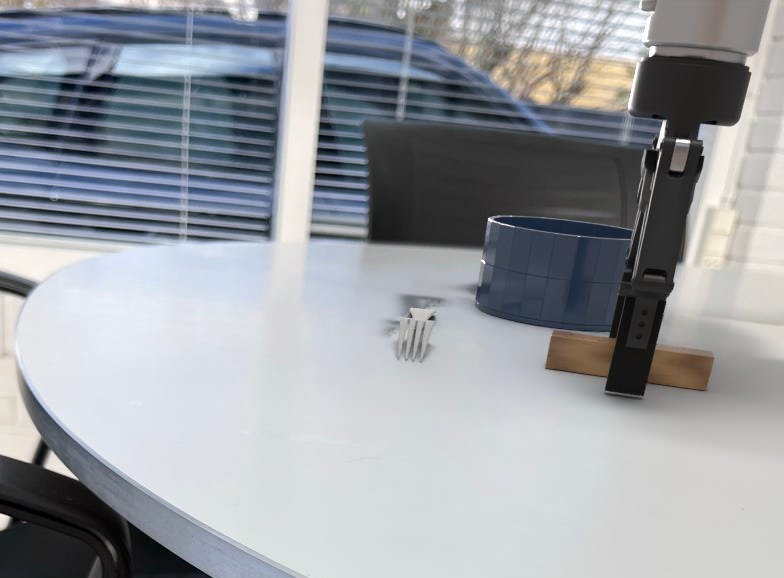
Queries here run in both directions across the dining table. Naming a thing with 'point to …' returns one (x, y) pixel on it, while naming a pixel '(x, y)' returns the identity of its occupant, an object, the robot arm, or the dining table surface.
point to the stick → (597, 353)
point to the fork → (416, 323)
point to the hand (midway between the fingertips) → (622, 373)
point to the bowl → (552, 271)
